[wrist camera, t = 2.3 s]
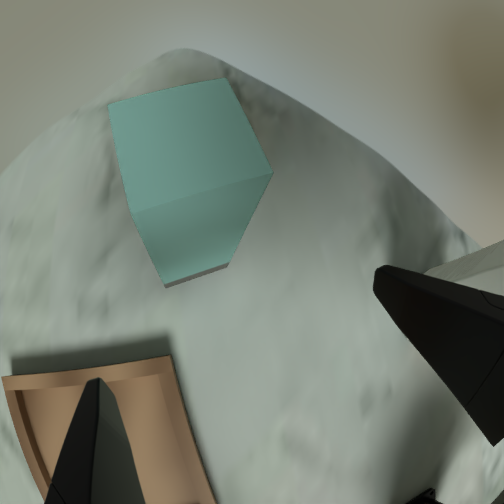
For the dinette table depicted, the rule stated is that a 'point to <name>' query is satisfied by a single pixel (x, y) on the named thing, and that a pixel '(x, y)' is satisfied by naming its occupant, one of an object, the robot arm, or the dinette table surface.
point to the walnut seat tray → (134, 419)
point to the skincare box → (476, 270)
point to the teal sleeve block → (189, 174)
